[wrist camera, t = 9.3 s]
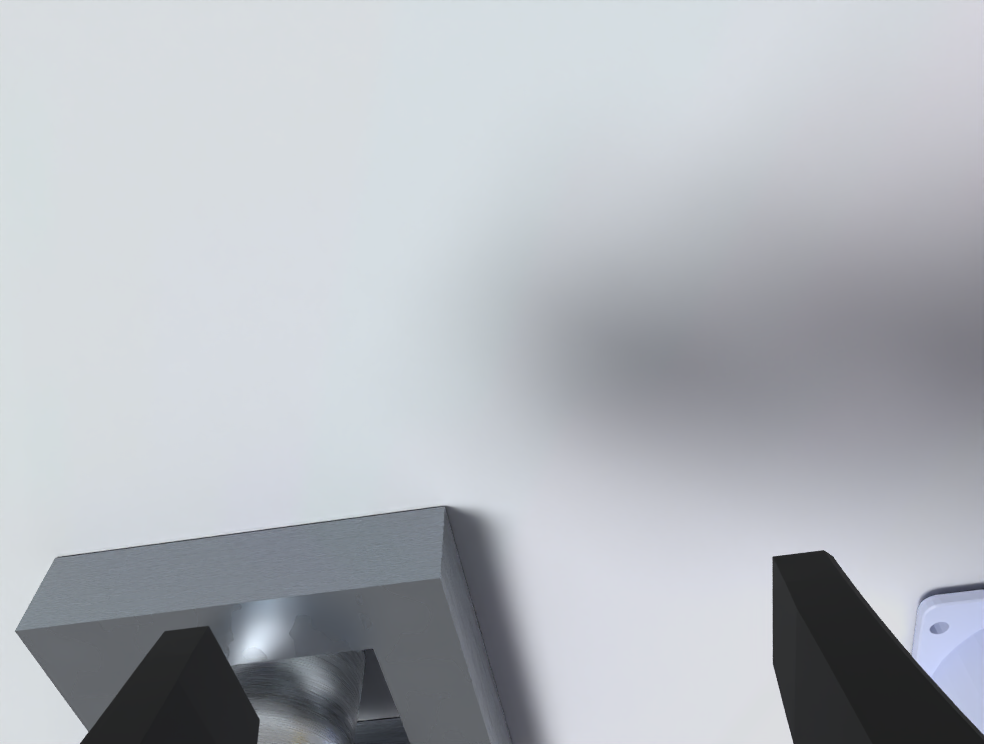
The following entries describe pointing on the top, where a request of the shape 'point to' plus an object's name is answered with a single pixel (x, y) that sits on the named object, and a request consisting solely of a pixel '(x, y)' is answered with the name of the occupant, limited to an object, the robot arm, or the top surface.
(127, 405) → the top surface
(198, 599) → the grey square frame
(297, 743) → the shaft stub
